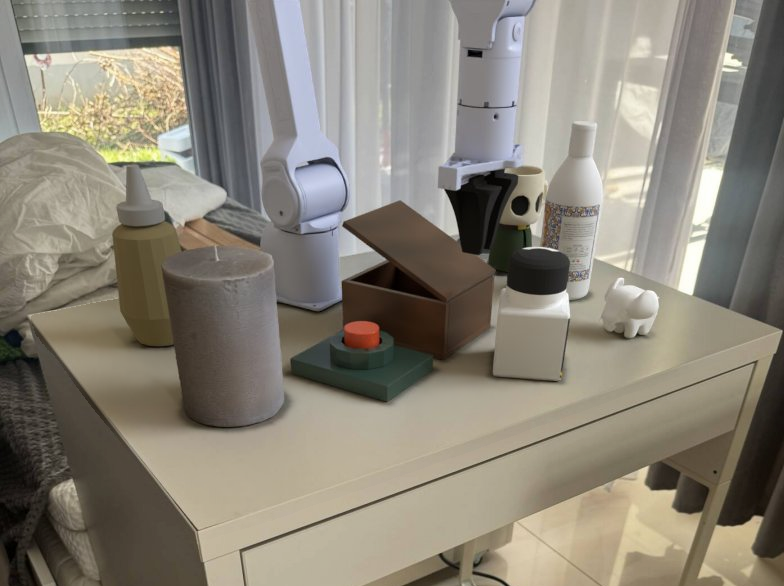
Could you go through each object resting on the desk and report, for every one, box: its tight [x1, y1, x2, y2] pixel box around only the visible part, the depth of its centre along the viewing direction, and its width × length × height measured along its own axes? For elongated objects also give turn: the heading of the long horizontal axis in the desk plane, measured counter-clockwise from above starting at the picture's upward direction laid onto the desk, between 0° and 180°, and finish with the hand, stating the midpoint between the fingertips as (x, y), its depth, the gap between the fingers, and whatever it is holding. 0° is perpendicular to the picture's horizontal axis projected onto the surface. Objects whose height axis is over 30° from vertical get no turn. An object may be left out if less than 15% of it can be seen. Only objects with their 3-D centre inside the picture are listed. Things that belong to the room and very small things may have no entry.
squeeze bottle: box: [112, 163, 183, 347], centre depth 82 cm, size 8×8×18 cm
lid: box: [341, 199, 497, 303], centre depth 85 cm, size 14×11×1 cm
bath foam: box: [539, 120, 604, 301], centre depth 96 cm, size 7×7×20 cm
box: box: [340, 259, 495, 361], centre depth 89 cm, size 13×11×6 cm
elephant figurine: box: [598, 277, 660, 339], centre depth 89 cm, size 7×8×6 cm
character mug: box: [487, 164, 549, 273], centre depth 106 cm, size 11×7×13 cm, turn 123°
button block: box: [289, 330, 434, 403], centre depth 80 cm, size 12×9×4 cm
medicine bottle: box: [492, 246, 571, 382], centre depth 80 cm, size 7×7×12 cm
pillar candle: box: [161, 244, 285, 428], centre depth 70 cm, size 10×10×15 cm
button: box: [344, 321, 379, 349], centre depth 79 cm, size 4×4×2 cm
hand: (476, 250), depth 82 cm, fingers closed
